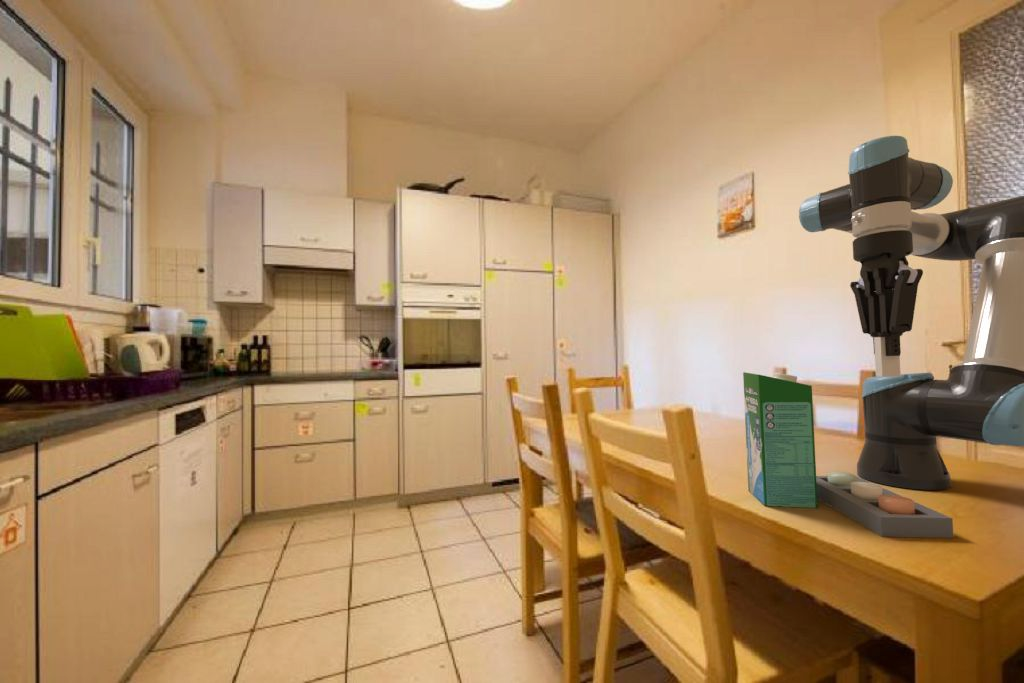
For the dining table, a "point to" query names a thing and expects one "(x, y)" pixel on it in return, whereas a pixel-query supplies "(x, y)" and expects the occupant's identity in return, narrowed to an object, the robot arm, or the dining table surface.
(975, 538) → the dining table surface
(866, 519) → the grey button tray
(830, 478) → the sage button
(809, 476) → the milk carton
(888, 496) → the terracotta button
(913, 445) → the robot arm
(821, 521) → the dining table surface
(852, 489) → the ivory button
